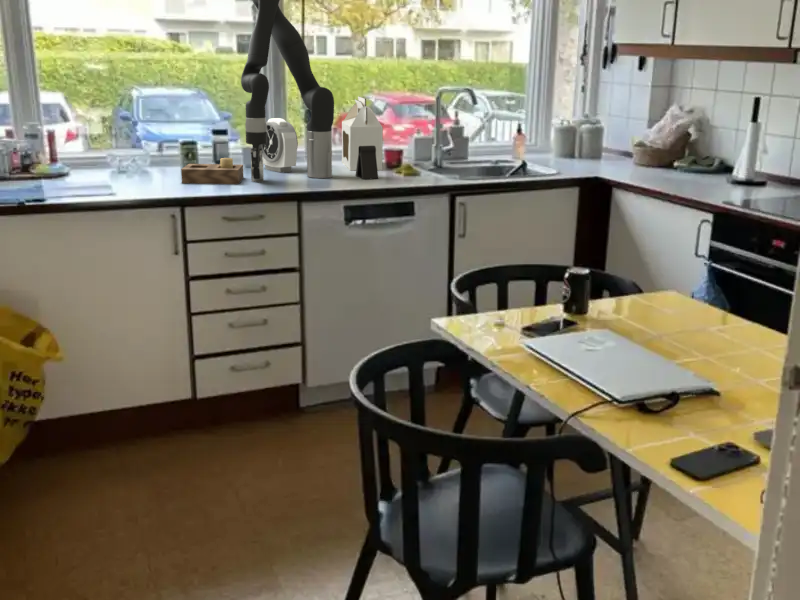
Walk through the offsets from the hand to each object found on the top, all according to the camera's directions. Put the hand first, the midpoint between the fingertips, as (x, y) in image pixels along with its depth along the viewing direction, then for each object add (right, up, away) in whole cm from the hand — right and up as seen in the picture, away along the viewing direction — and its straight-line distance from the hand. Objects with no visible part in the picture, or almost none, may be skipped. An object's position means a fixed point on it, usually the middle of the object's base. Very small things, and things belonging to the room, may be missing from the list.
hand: (257, 177), depth 313 cm
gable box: (+36, +10, +42) cm, 56 cm away
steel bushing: (0, -1, 0) cm, 1 cm away
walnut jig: (-16, -1, 0) cm, 16 cm away
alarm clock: (+4, +7, +27) cm, 28 cm away
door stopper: (+39, +2, +14) cm, 42 cm away
